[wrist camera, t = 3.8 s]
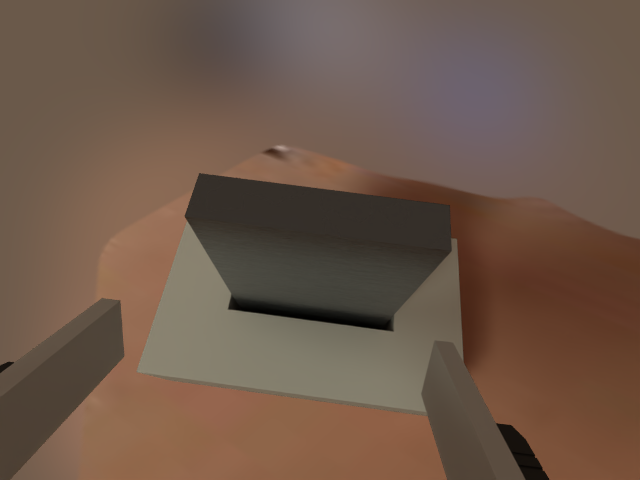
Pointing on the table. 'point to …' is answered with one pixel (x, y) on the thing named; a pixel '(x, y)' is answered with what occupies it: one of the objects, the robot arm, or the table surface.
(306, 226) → the cover plate
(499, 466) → the robot arm
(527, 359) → the table surface
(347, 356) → the slotted box
